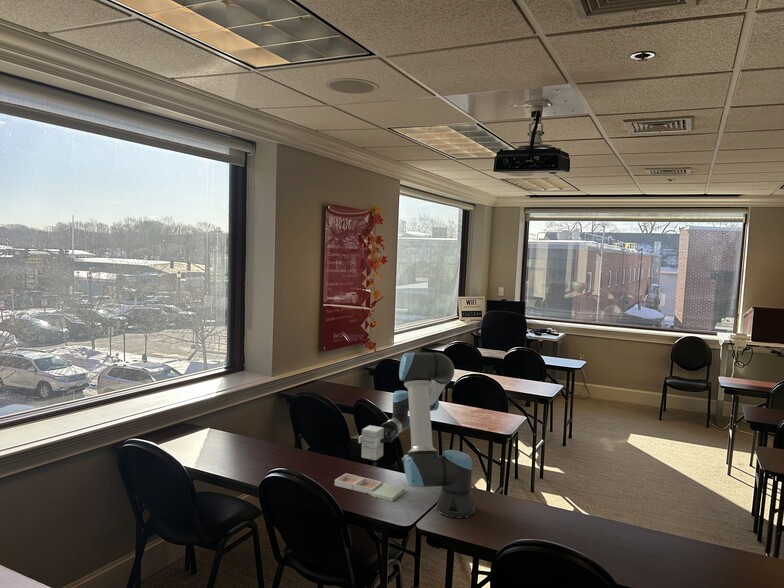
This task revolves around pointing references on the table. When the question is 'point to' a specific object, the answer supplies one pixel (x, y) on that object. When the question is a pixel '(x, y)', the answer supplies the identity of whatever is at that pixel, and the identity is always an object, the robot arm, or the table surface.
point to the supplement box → (372, 442)
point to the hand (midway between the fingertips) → (367, 441)
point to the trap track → (369, 486)
